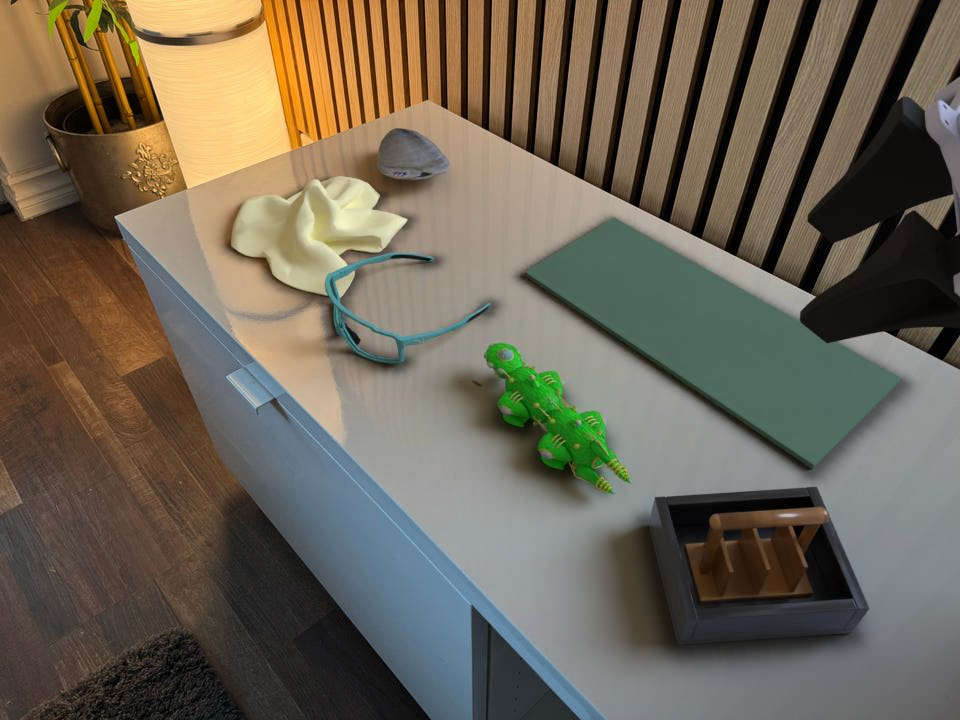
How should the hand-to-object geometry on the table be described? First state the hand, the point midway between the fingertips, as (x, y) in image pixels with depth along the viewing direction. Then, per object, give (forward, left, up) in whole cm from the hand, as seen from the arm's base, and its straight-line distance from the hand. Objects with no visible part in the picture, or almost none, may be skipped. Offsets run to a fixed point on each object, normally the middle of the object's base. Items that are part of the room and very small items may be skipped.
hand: (817, 275), depth 39 cm
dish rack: (-2, +2, -25) cm, 25 cm away
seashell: (+47, -36, -26) cm, 65 cm away
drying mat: (+7, -23, -26) cm, 35 cm away
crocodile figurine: (+16, -5, -26) cm, 31 cm away
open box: (-2, +2, -26) cm, 26 cm away
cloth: (+50, -21, -26) cm, 60 cm away
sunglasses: (+35, -13, -26) cm, 45 cm away
